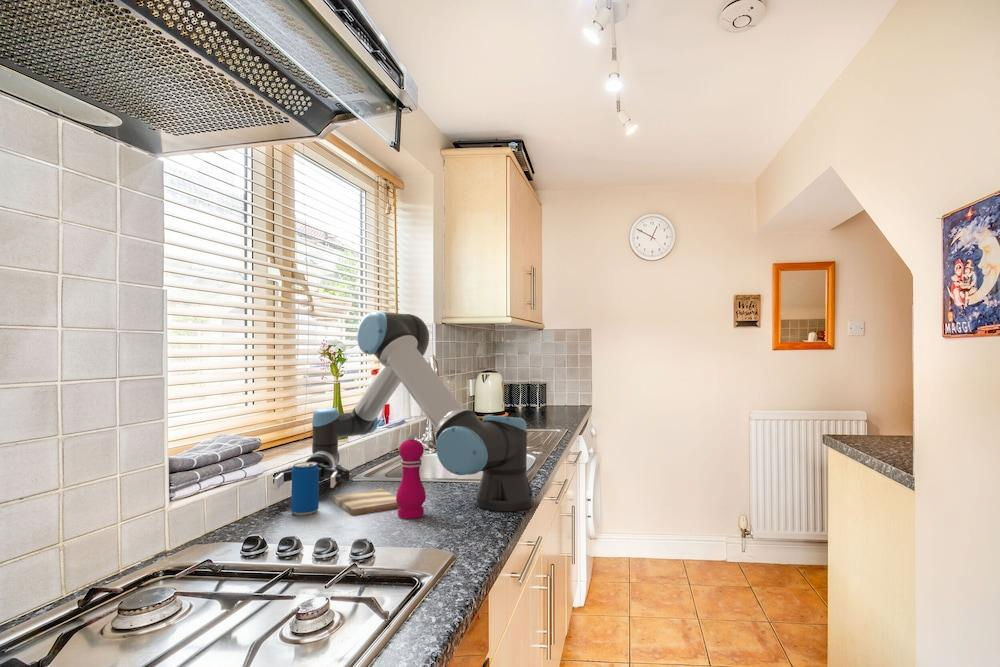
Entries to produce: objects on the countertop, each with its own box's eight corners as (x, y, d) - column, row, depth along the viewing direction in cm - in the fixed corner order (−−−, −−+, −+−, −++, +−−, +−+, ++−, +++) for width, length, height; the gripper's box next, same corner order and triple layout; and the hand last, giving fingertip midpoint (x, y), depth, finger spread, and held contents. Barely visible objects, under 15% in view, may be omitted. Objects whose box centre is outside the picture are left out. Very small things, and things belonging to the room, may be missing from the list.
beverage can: (323, 512, 139) (323, 463, 140) (298, 517, 135) (299, 467, 135) (310, 507, 144) (311, 460, 144) (286, 512, 139) (287, 464, 139)
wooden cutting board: (405, 506, 144) (405, 500, 144) (352, 515, 137) (352, 509, 137) (381, 493, 158) (382, 488, 158) (332, 501, 150) (332, 495, 150)
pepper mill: (419, 520, 132) (420, 435, 133) (391, 518, 134) (391, 435, 134) (429, 512, 139) (430, 431, 140) (402, 510, 141) (402, 431, 142)
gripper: (363, 478, 163) (354, 496, 142) (273, 481, 159) (251, 500, 138) (363, 452, 163) (355, 466, 142) (274, 454, 160) (252, 469, 139)
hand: (304, 483), depth 140 cm, fingers open, 13 cm apart
